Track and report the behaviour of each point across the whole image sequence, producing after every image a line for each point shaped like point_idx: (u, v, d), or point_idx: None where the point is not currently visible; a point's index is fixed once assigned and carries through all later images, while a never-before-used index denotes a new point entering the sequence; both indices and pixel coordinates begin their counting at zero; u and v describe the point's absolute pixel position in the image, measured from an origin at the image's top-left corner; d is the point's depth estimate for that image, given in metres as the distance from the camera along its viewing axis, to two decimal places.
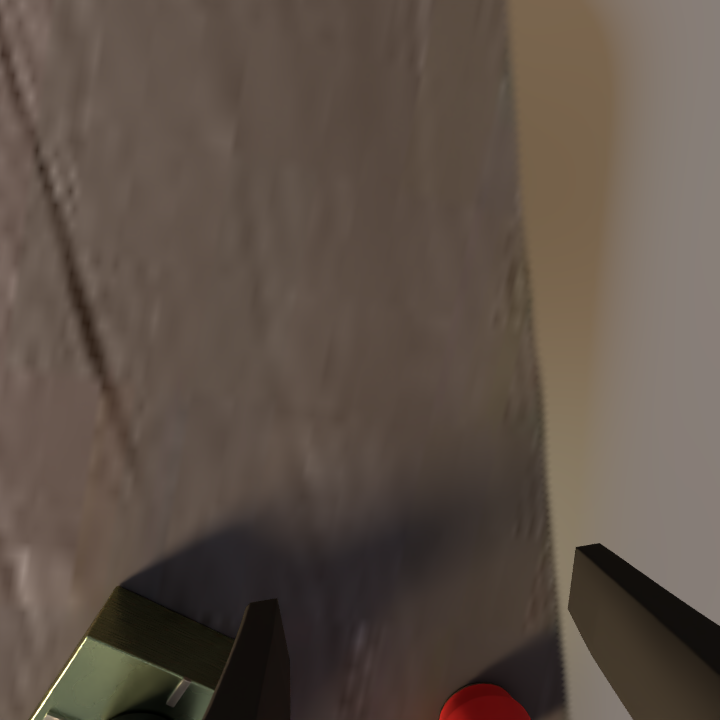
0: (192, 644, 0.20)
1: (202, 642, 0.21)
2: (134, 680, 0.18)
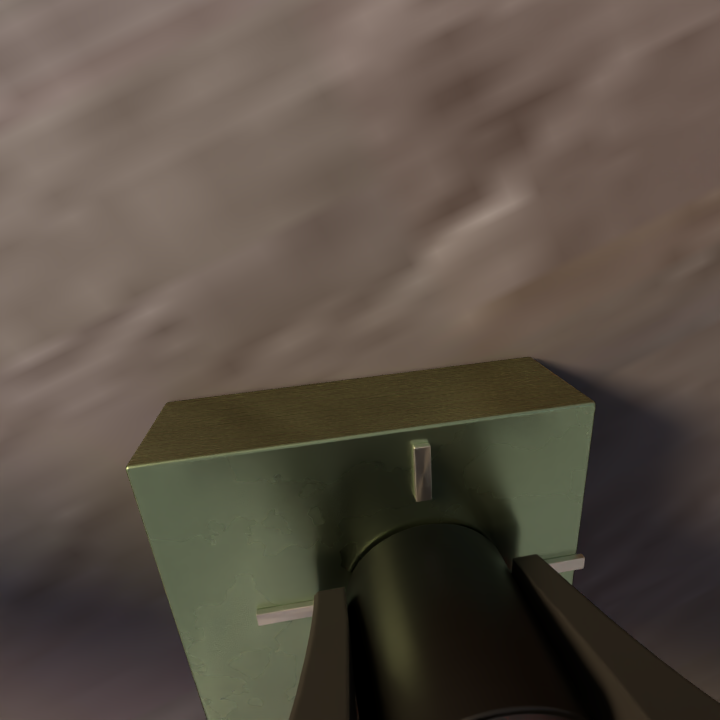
0: None
1: None
2: (545, 507, 0.10)
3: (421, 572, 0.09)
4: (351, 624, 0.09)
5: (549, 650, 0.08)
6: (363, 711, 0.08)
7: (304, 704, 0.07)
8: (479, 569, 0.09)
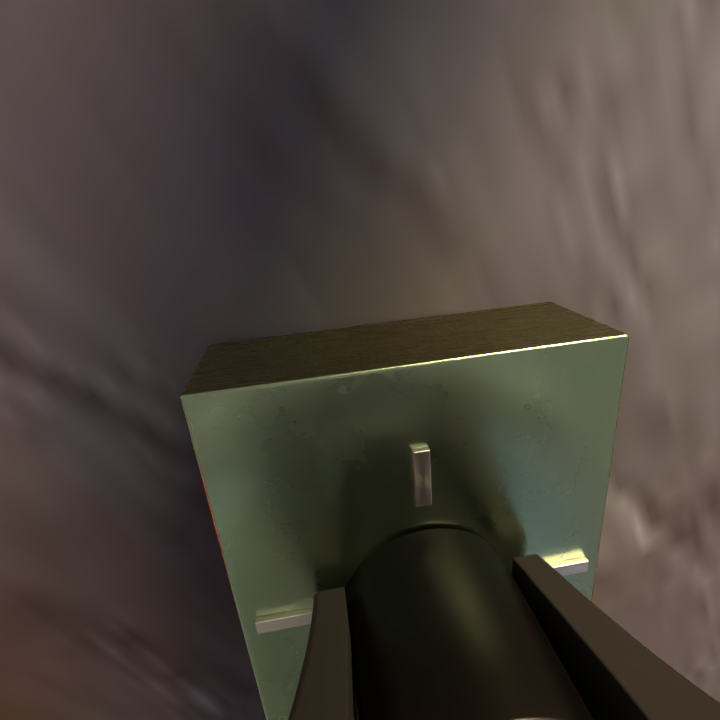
0: None
1: None
2: None
3: (423, 578, 0.09)
4: (351, 631, 0.09)
5: (554, 659, 0.08)
6: None
7: (303, 705, 0.07)
8: (482, 575, 0.09)
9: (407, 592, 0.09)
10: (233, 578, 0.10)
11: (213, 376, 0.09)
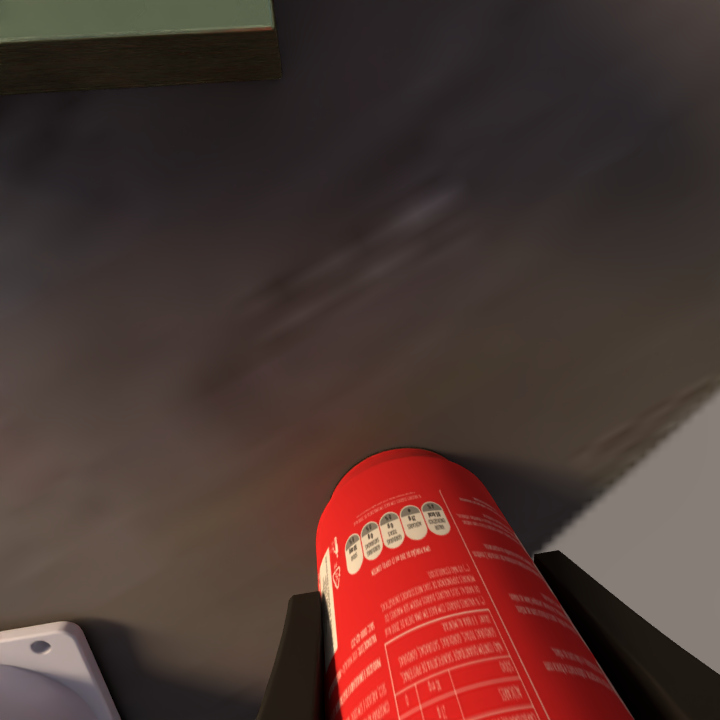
0: None
1: None
2: None
3: None
4: None
5: None
6: None
7: (269, 711, 0.07)
8: None
9: None
10: None
11: None
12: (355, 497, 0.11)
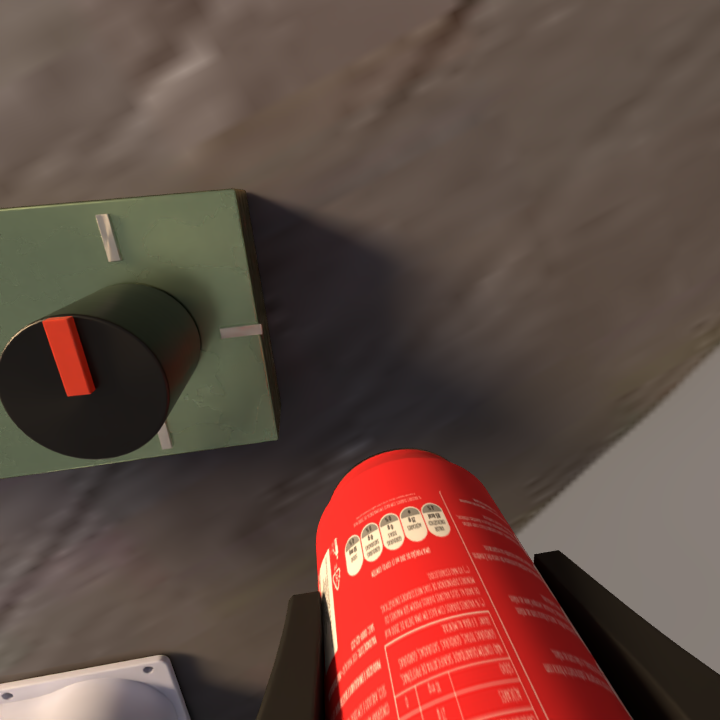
0: (262, 310, 0.17)
1: (264, 319, 0.17)
2: (218, 278, 0.14)
3: None
4: None
5: None
6: None
7: (269, 711, 0.07)
8: None
9: None
10: (128, 458, 0.16)
11: None
12: (355, 498, 0.11)
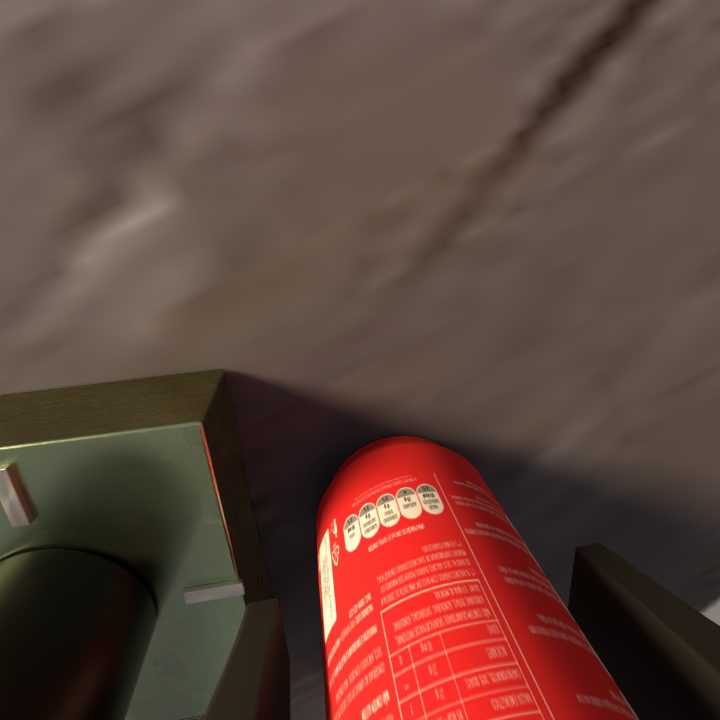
0: (246, 528, 0.12)
1: (250, 532, 0.13)
2: (180, 531, 0.10)
3: None
4: None
5: None
6: None
7: None
8: None
9: None
10: None
11: None
12: (353, 481, 0.11)
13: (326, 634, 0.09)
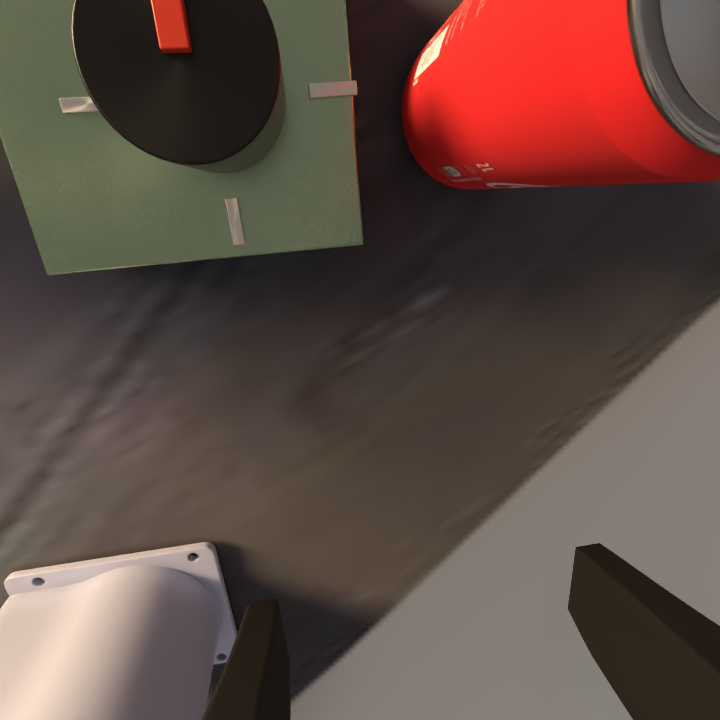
0: None
1: None
2: (311, 14, 0.12)
3: None
4: None
5: None
6: None
7: None
8: None
9: None
10: (193, 257, 0.14)
11: None
12: None
13: (439, 49, 0.11)
